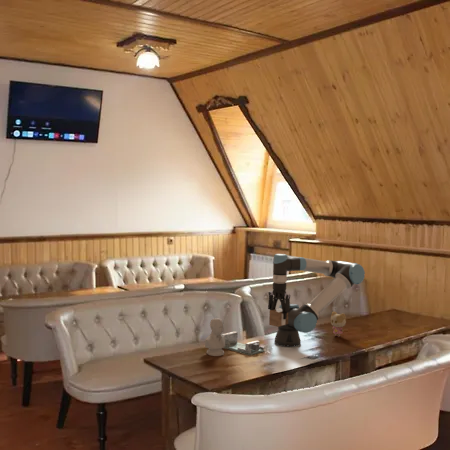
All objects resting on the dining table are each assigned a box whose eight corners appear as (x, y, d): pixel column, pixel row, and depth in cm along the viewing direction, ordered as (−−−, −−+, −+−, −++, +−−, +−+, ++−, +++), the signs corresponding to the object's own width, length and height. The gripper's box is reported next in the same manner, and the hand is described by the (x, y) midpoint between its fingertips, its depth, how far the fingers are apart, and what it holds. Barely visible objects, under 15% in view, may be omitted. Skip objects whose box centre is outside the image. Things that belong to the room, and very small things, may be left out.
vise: (234, 343, 340) (235, 331, 339) (264, 351, 325) (264, 338, 324) (220, 347, 331) (220, 334, 331) (249, 355, 316) (250, 342, 316)
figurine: (229, 353, 320) (230, 317, 319) (214, 357, 310) (216, 321, 309) (215, 349, 326) (217, 315, 325) (201, 354, 316) (202, 318, 315)
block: (279, 322, 330) (279, 308, 329) (287, 324, 326) (288, 309, 325) (269, 324, 323) (269, 310, 323) (277, 326, 319) (278, 312, 318)
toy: (326, 335, 365) (327, 311, 364) (335, 333, 371) (336, 310, 370) (339, 339, 358) (340, 314, 357) (348, 337, 364) (349, 313, 363)
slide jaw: (256, 347, 327) (256, 340, 327) (262, 349, 324) (263, 342, 323) (245, 350, 320) (245, 343, 320) (251, 352, 317) (251, 345, 316)
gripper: (261, 280, 326) (260, 321, 328) (289, 285, 313) (288, 328, 315) (270, 279, 332) (269, 319, 333) (297, 283, 319) (296, 325, 320)
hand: (278, 323), depth 324 cm, fingers closed on block, 6 cm apart
